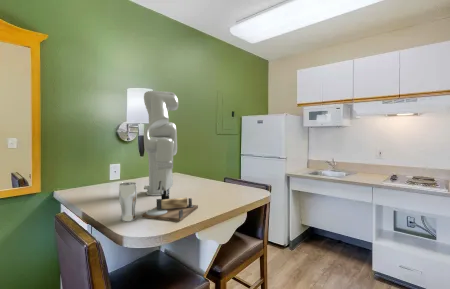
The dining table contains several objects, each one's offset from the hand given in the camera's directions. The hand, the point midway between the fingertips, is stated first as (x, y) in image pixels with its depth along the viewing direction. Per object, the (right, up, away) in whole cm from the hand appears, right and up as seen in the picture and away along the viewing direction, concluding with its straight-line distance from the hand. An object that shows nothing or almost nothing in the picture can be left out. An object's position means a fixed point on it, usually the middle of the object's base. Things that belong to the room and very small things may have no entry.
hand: (165, 203), depth 115 cm
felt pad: (-2, -2, -7) cm, 8 cm away
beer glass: (-12, -4, -13) cm, 18 cm away
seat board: (+4, -3, -4) cm, 6 cm away
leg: (+4, -1, -2) cm, 5 cm away
